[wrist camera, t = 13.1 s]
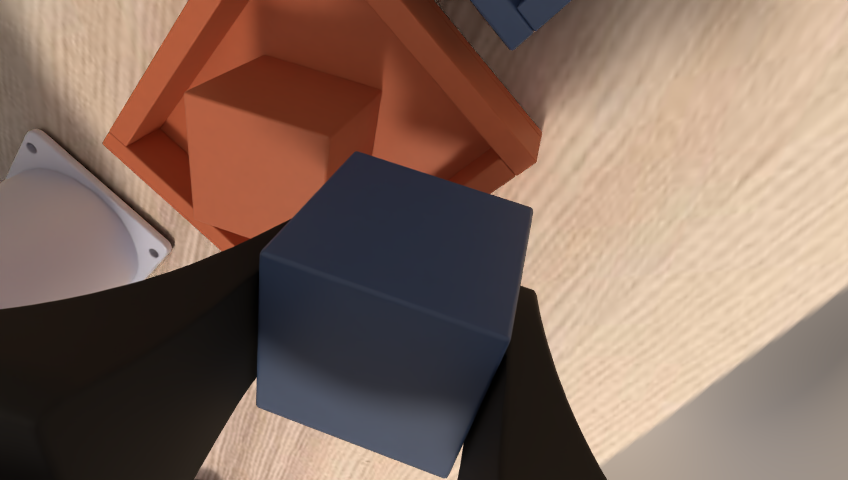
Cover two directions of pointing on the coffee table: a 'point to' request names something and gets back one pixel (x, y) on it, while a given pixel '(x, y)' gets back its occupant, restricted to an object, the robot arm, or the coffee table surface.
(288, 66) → the clay block
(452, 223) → the slate block
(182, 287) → the robot arm
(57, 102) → the coffee table surface
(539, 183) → the coffee table surface
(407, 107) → the clay tray
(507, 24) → the slate tray
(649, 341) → the coffee table surface
